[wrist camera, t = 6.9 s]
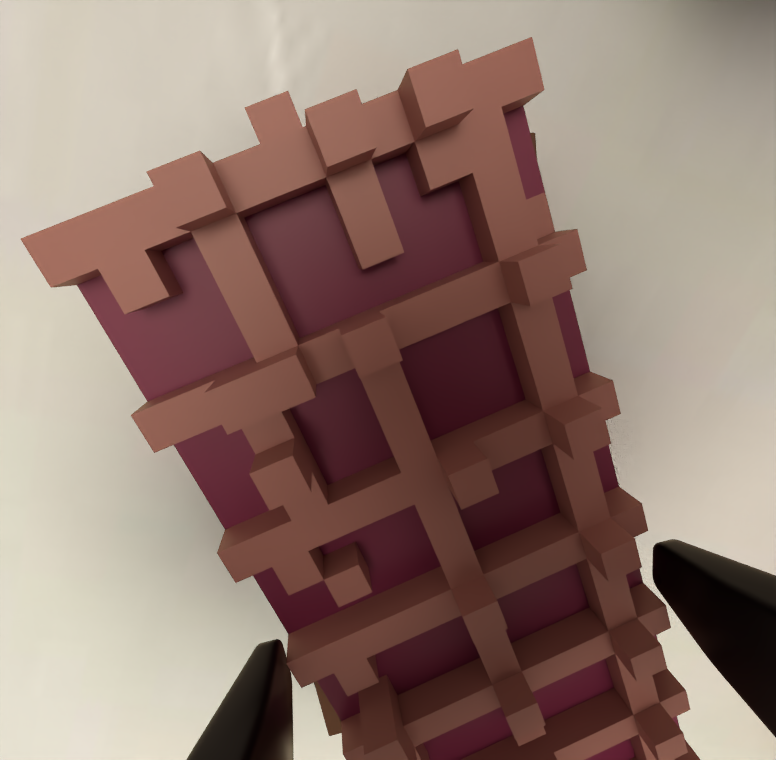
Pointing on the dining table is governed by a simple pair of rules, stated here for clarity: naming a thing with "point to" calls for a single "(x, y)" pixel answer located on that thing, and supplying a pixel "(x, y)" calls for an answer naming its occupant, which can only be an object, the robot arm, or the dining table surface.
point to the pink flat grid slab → (396, 416)
